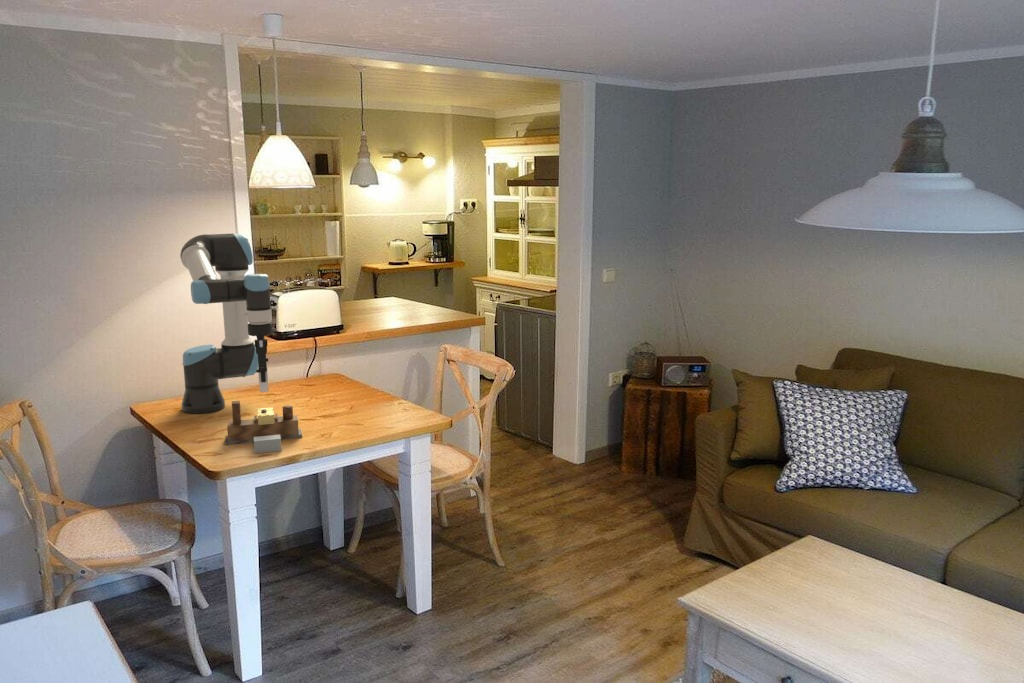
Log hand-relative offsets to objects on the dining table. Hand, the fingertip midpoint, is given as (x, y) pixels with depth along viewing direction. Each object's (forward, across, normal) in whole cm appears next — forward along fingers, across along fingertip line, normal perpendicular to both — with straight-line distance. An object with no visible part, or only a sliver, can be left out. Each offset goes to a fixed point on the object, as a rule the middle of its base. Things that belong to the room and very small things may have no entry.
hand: (263, 386), depth 249 cm
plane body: (+18, 0, -1) cm, 18 cm away
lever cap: (+12, 0, 0) cm, 12 cm away
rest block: (+18, +12, 0) cm, 21 cm away
